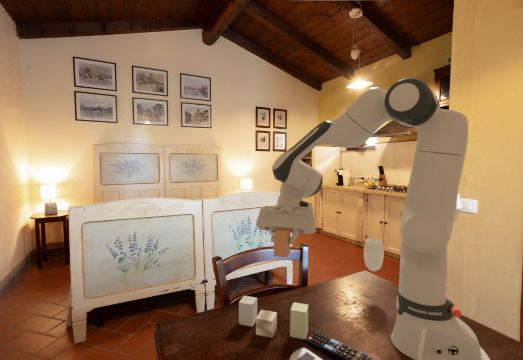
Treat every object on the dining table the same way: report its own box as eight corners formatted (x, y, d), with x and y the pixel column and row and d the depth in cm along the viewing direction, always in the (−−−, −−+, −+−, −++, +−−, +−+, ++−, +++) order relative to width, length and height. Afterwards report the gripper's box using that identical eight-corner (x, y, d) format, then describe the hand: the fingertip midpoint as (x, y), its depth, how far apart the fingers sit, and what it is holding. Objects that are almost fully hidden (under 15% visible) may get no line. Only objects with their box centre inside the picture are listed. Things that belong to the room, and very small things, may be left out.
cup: (384, 293, 105) (386, 240, 104) (379, 300, 100) (381, 244, 98) (365, 287, 110) (367, 237, 108) (359, 294, 104) (361, 241, 103)
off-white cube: (276, 328, 83) (276, 312, 83) (272, 338, 78) (272, 321, 78) (261, 325, 84) (261, 309, 84) (255, 334, 80) (255, 318, 79)
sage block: (308, 330, 82) (308, 304, 81) (305, 339, 77) (306, 312, 77) (293, 327, 83) (293, 302, 83) (290, 336, 79) (290, 309, 78)
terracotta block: (290, 253, 91) (290, 229, 91) (287, 257, 87) (287, 233, 87) (277, 251, 93) (277, 228, 92) (273, 256, 88) (274, 231, 88)
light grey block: (257, 318, 88) (257, 297, 87) (252, 326, 83) (252, 304, 83) (244, 316, 89) (244, 295, 89) (238, 324, 85) (238, 302, 84)
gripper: (259, 201, 99) (249, 234, 90) (316, 203, 92) (312, 240, 84) (262, 211, 103) (254, 243, 95) (317, 214, 97) (313, 249, 88)
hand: (281, 242), depth 89 cm, fingers closed on terracotta block, 4 cm apart
